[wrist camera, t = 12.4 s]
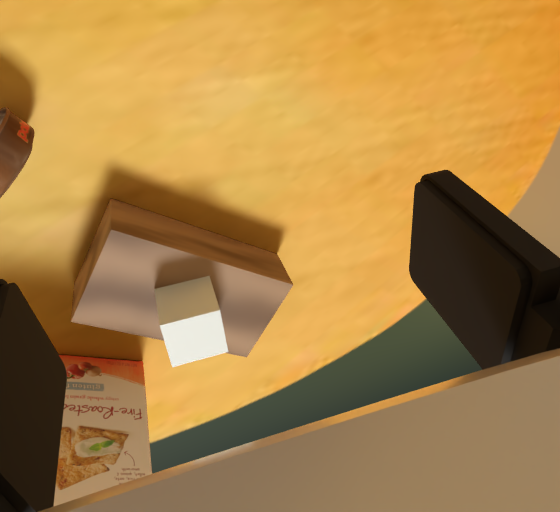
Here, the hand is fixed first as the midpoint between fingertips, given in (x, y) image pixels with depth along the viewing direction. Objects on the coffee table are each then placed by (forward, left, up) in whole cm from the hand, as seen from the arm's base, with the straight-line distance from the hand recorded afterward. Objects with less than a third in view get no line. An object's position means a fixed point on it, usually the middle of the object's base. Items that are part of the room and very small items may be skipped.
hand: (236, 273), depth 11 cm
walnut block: (+2, +22, -32) cm, 39 cm away
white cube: (+2, +22, -26) cm, 34 cm away
